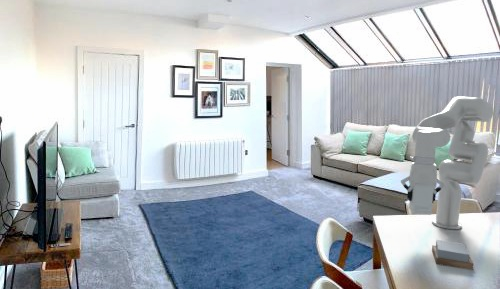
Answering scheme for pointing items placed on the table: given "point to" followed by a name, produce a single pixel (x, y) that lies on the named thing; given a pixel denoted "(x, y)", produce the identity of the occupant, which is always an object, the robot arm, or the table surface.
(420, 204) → the supplement box
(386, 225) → the table surface
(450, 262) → the walnut base slab
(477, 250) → the table surface
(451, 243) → the slate grey slab
